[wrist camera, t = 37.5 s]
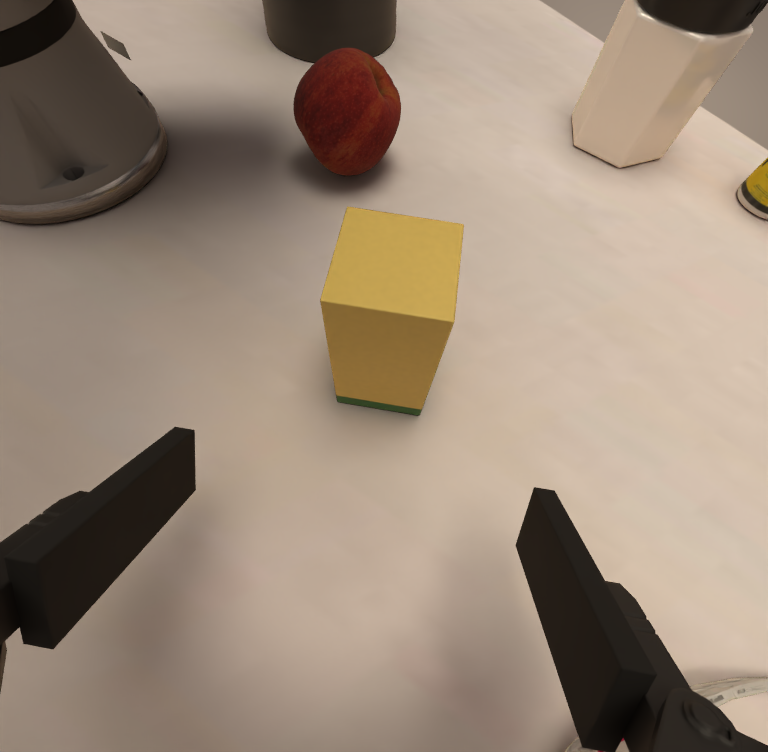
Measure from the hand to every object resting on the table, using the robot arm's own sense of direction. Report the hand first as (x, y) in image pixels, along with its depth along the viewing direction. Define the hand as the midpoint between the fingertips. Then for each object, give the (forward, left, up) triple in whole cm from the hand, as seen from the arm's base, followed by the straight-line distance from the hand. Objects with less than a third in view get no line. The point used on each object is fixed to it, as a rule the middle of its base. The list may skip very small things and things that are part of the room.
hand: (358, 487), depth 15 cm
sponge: (0, +8, -6) cm, 10 cm away
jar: (+17, +36, -7) cm, 40 cm away
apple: (-6, +27, -7) cm, 28 cm away
